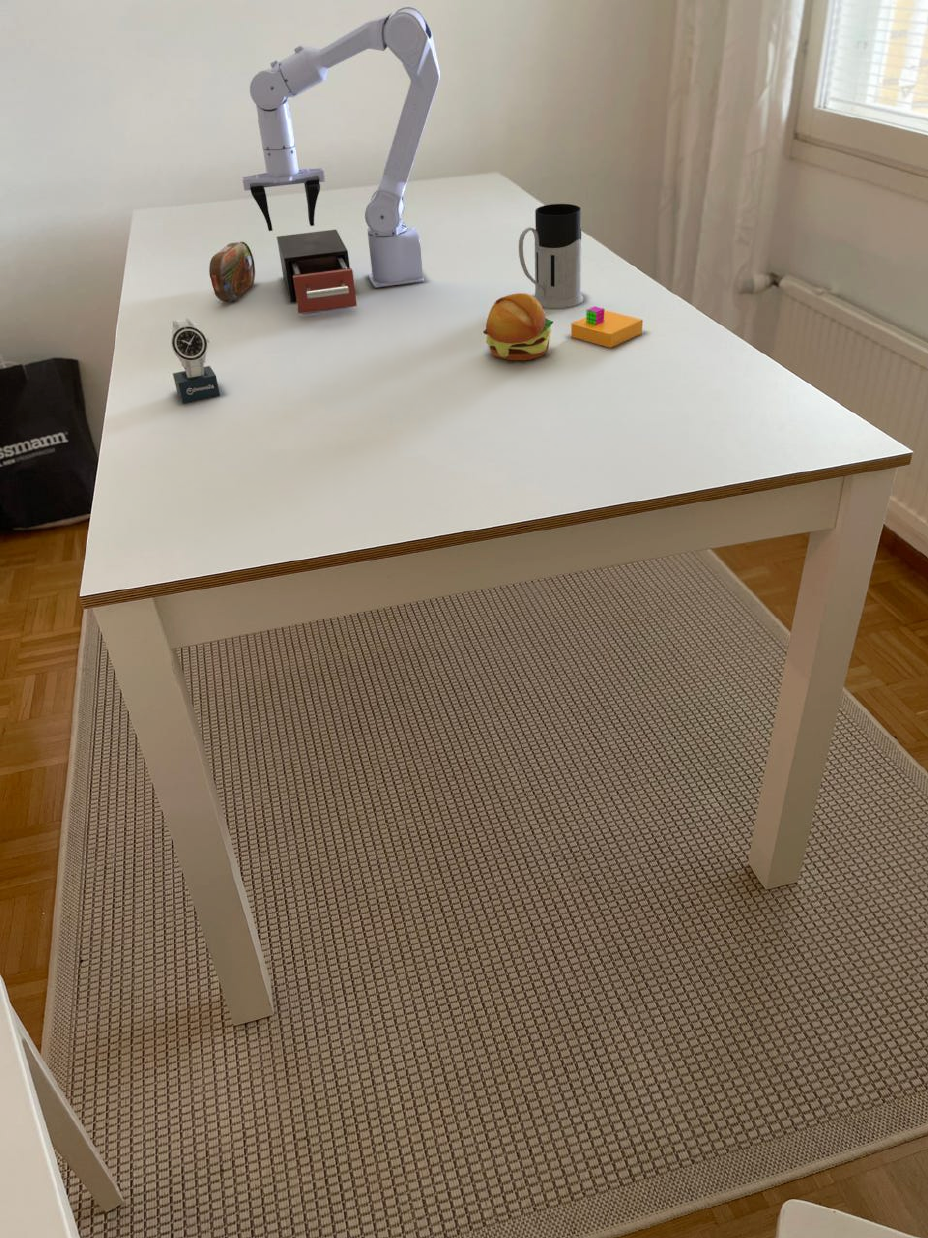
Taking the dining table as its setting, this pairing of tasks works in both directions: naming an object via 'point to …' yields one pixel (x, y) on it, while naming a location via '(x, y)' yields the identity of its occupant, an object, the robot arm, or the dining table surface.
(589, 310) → the flat orange square tile
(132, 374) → the dining table surface
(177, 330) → the watch
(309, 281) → the drawer
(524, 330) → the cheeseburger
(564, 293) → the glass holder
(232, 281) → the tin
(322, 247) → the grey drawer cabinet
